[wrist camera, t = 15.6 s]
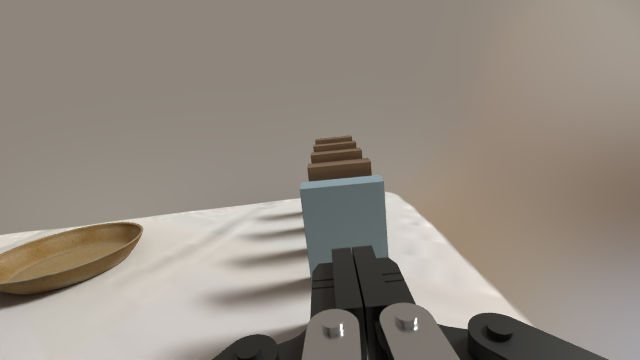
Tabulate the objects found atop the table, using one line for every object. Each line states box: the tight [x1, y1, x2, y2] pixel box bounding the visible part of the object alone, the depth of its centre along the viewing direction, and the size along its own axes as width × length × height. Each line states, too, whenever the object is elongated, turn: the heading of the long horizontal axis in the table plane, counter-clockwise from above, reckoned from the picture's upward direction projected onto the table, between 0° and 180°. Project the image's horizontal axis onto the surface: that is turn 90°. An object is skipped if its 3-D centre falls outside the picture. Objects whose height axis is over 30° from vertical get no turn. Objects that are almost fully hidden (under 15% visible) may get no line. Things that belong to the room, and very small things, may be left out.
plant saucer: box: [0, 222, 143, 294], centre depth 35 cm, size 15×15×3 cm
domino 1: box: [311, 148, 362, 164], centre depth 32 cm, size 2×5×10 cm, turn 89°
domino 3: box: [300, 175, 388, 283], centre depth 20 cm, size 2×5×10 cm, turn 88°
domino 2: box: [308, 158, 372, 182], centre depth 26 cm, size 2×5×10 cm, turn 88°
